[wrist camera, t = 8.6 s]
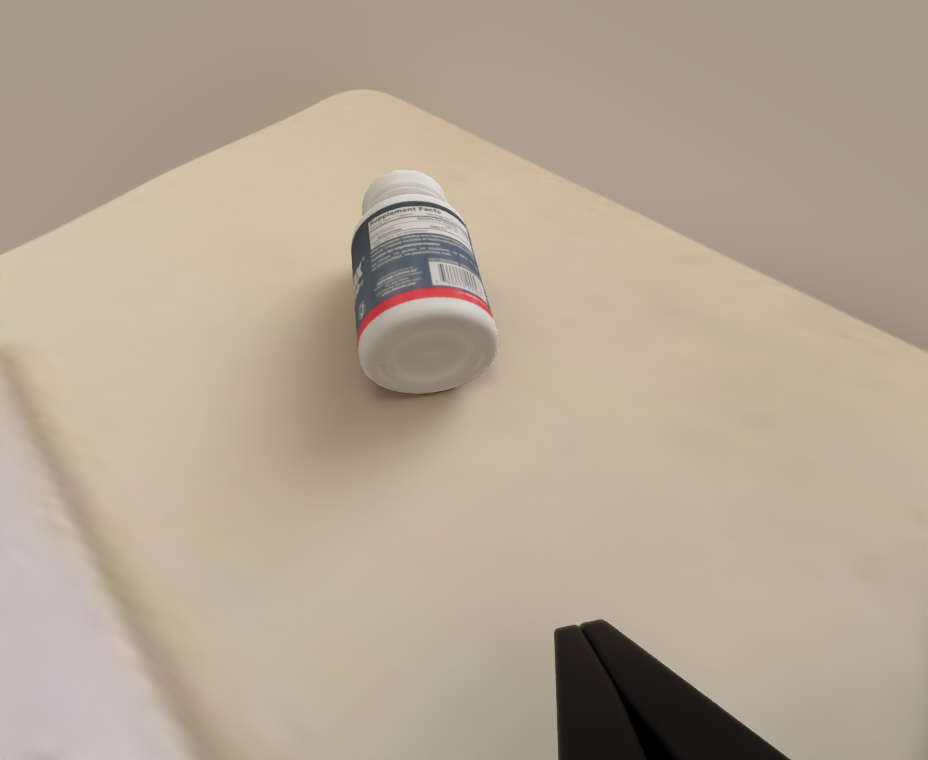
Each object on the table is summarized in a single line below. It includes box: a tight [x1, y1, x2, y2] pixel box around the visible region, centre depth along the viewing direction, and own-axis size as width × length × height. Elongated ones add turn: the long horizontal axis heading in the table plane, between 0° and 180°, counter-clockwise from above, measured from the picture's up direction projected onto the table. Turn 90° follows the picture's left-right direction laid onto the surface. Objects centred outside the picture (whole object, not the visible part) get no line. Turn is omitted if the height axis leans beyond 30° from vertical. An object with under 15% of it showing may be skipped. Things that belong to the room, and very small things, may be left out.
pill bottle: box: [351, 170, 499, 394], centre depth 18 cm, size 5×5×9 cm
